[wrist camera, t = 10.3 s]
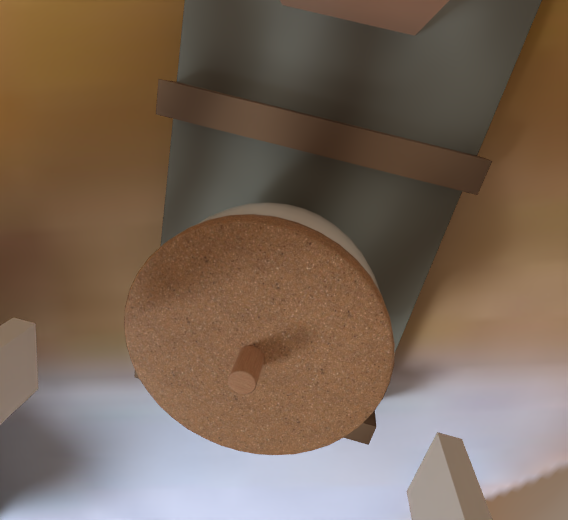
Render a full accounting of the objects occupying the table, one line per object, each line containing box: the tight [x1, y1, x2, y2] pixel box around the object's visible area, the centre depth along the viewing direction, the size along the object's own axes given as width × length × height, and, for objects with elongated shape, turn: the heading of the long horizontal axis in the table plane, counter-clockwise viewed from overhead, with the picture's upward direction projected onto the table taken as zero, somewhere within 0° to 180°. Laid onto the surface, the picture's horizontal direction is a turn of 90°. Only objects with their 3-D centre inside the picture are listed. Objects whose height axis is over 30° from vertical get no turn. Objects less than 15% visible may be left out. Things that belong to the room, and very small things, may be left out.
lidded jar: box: [124, 203, 395, 455], centre depth 17 cm, size 11×11×9 cm
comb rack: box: [135, 0, 542, 445], centre depth 18 cm, size 15×33×4 cm, turn 167°
